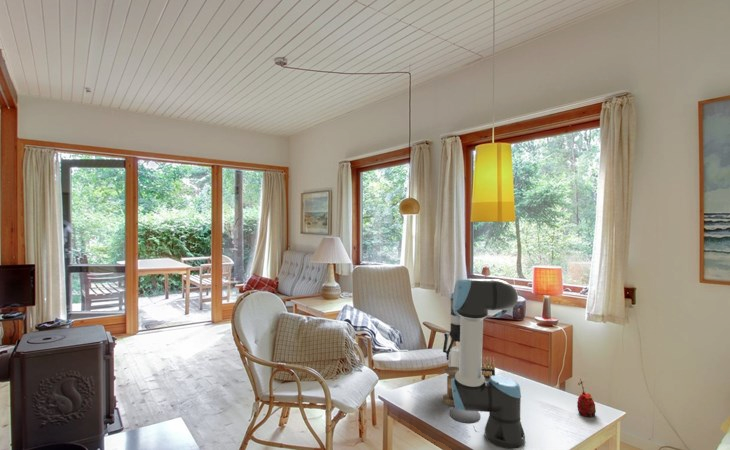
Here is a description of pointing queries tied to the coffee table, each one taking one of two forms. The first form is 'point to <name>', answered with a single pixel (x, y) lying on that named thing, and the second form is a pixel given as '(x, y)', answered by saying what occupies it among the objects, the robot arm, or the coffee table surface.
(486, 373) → the ammunition clip
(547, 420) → the coffee table surface
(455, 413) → the pad
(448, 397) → the doorknob
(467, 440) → the coffee table surface
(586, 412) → the red bumpy oval
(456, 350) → the white cup
